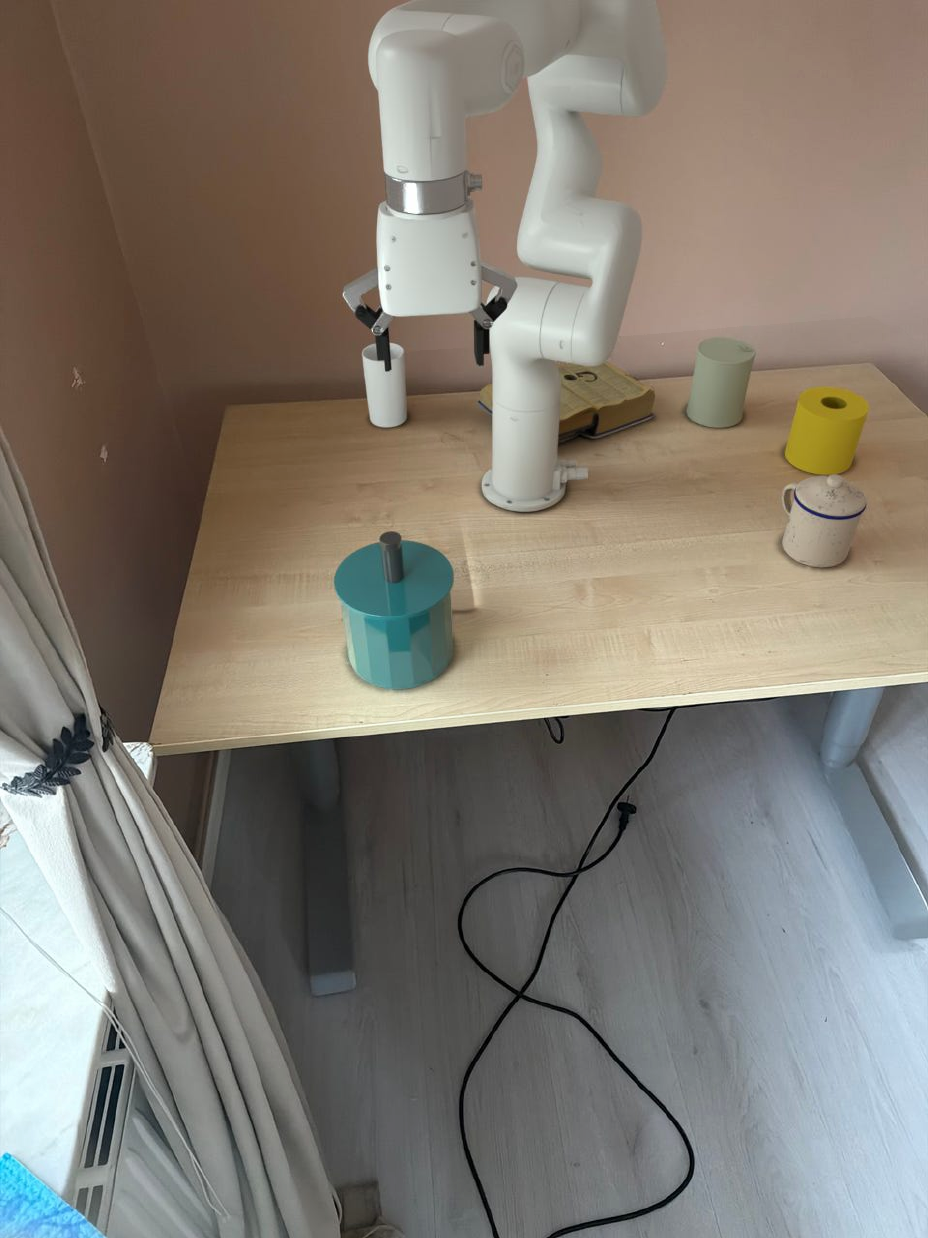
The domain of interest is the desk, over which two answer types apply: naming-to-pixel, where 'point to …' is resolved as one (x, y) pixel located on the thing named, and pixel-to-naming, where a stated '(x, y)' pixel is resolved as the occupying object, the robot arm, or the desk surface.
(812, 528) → the teacup with lid
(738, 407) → the can
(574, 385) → the book
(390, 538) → the lid
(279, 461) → the desk surface
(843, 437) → the yellow toilet paper roll
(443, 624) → the pot
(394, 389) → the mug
